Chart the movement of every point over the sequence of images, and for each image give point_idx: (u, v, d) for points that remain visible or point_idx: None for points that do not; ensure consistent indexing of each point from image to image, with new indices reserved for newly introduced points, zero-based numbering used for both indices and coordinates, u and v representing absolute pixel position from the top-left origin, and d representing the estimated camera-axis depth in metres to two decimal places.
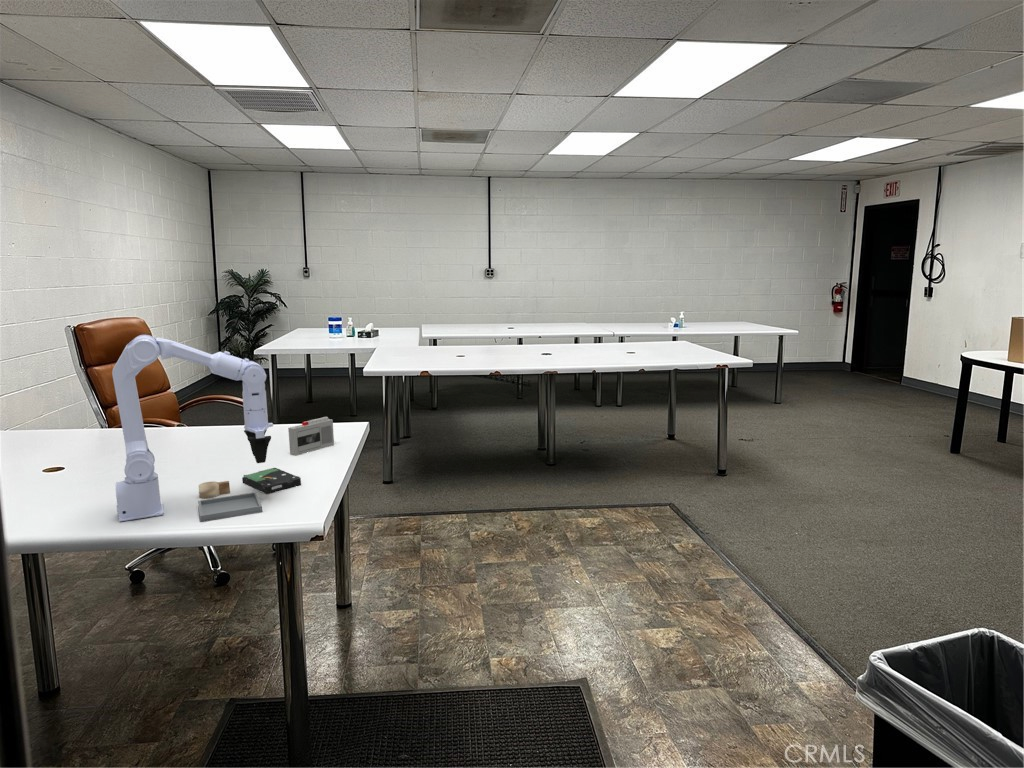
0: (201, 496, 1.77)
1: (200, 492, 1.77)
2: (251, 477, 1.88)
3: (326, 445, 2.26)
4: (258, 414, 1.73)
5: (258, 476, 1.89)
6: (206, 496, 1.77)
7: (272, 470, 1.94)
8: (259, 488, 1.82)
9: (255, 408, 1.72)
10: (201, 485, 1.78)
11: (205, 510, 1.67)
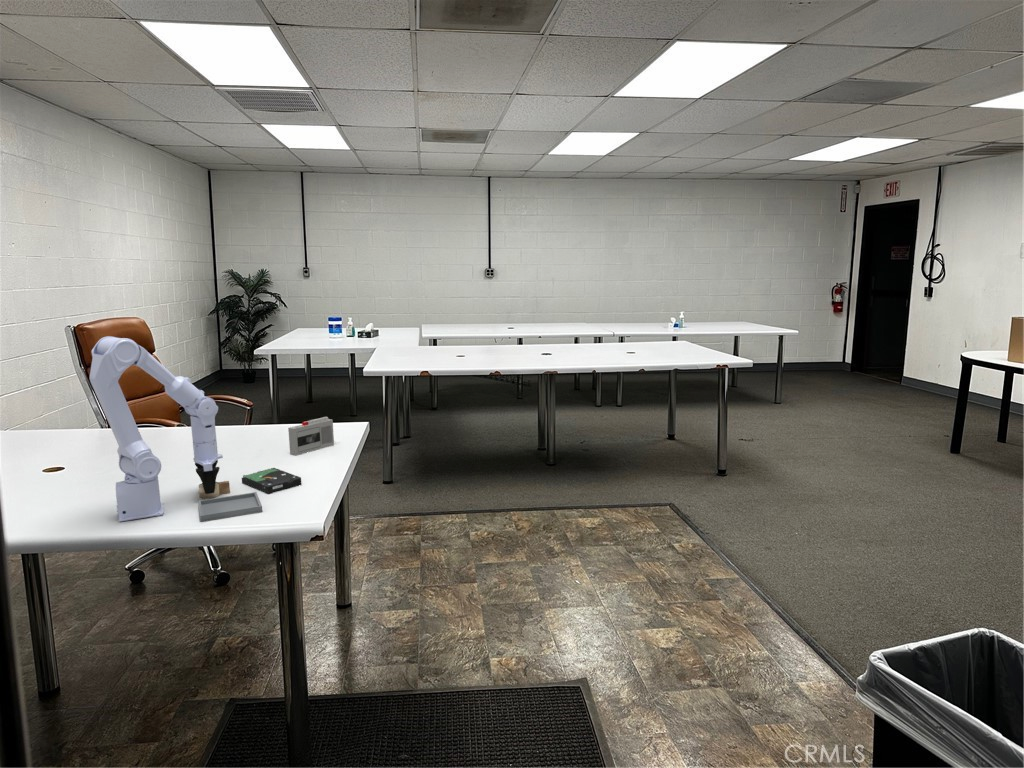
0: (201, 496, 1.77)
1: (200, 492, 1.77)
2: (251, 477, 1.87)
3: (326, 445, 2.26)
4: (207, 446, 1.75)
5: (258, 476, 1.88)
6: (206, 496, 1.77)
7: (271, 470, 1.94)
8: (260, 488, 1.82)
9: (208, 440, 1.75)
10: (201, 485, 1.78)
11: (205, 510, 1.67)
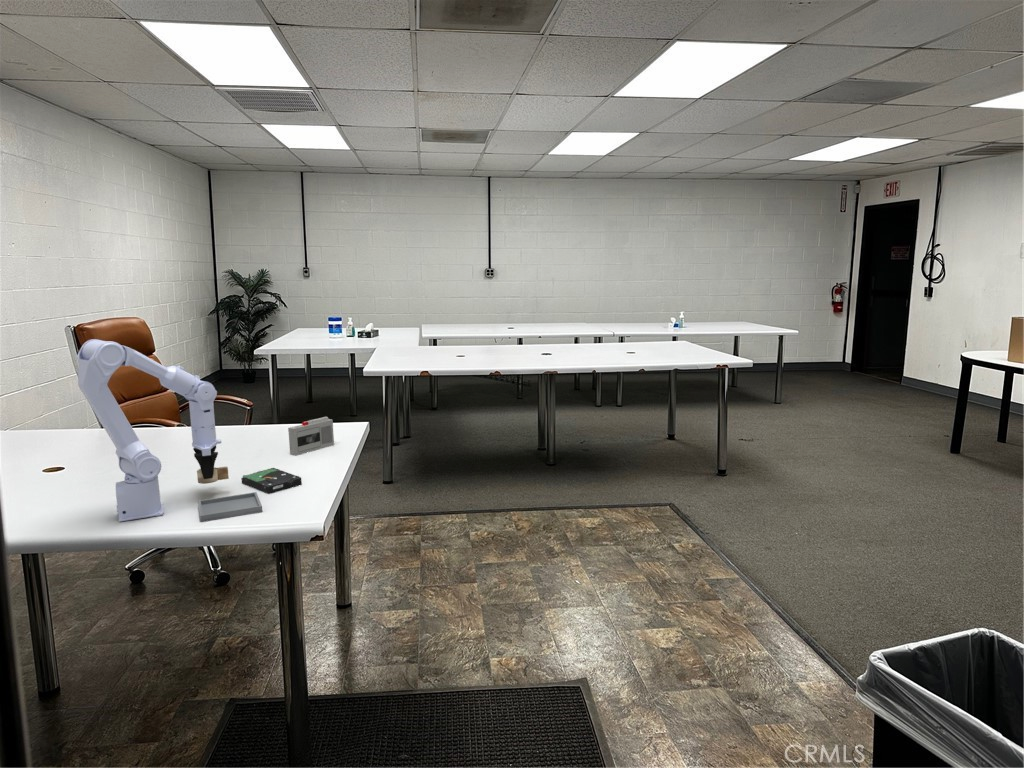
0: (199, 481, 1.77)
1: (198, 477, 1.77)
2: (251, 477, 1.87)
3: (326, 445, 2.26)
4: (205, 431, 1.74)
5: (258, 476, 1.88)
6: (204, 481, 1.76)
7: (271, 470, 1.94)
8: (260, 488, 1.82)
9: (207, 425, 1.74)
10: (199, 470, 1.77)
11: (205, 510, 1.67)
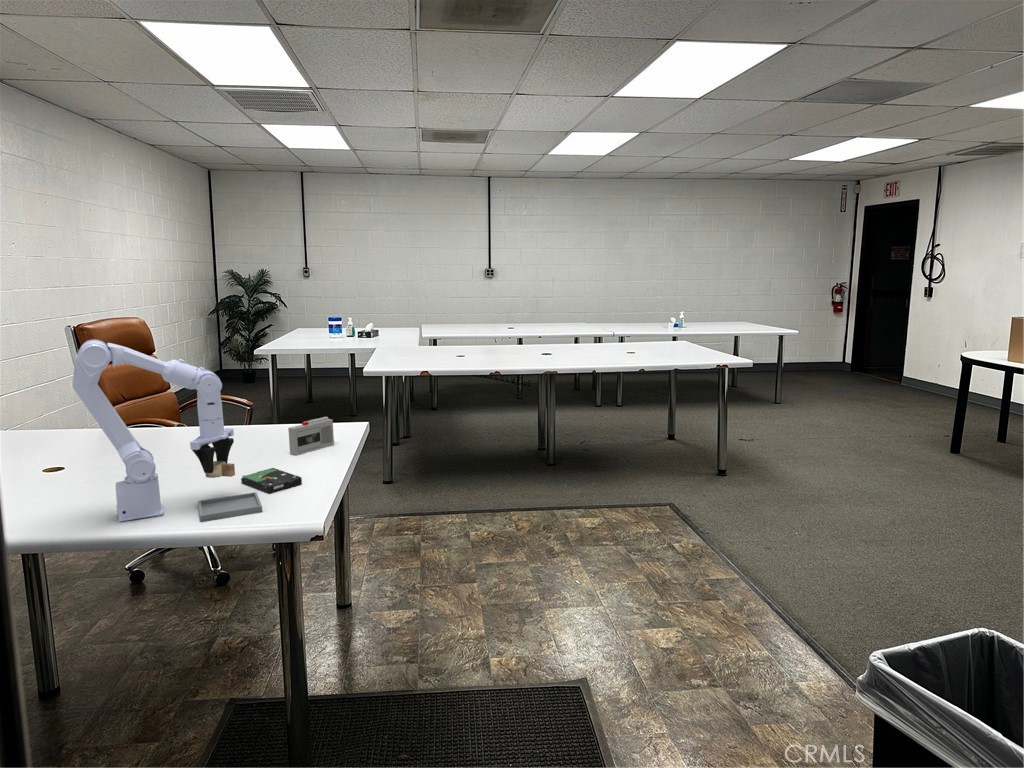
0: None
1: None
2: (251, 477, 1.87)
3: (326, 445, 2.26)
4: (205, 425, 1.69)
5: (258, 476, 1.88)
6: (207, 475, 1.72)
7: (270, 470, 1.94)
8: (260, 488, 1.82)
9: (211, 418, 1.69)
10: None
11: (205, 510, 1.67)
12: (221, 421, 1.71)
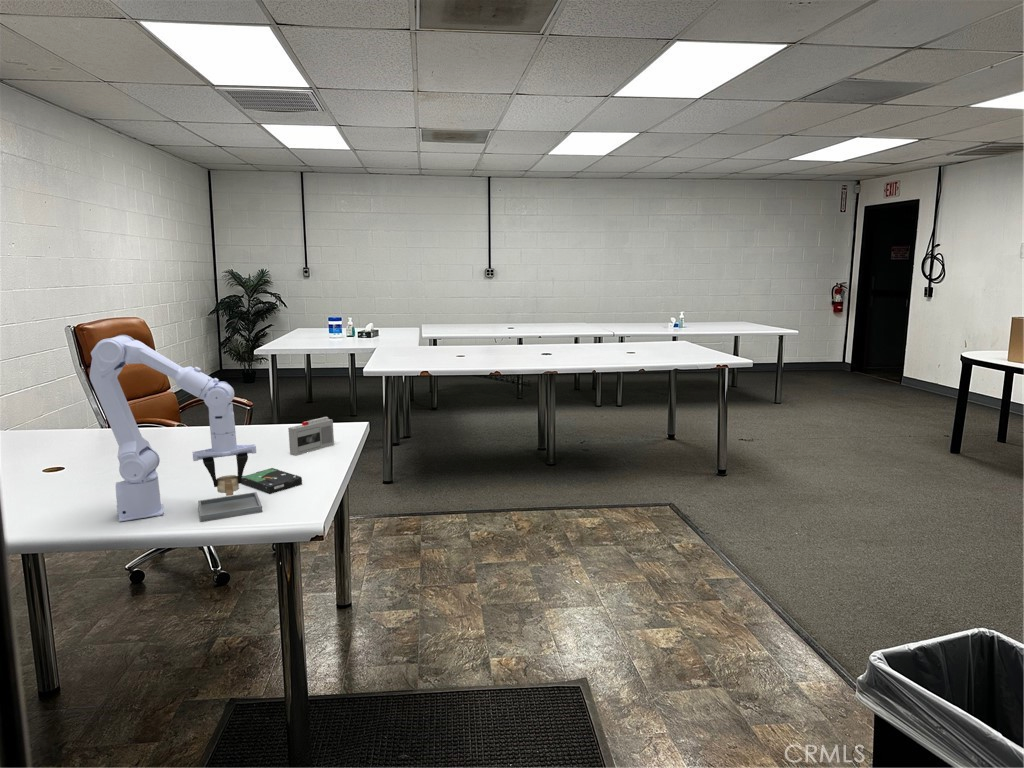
0: None
1: None
2: (250, 478, 1.87)
3: (326, 445, 2.26)
4: (211, 437, 1.65)
5: (258, 476, 1.88)
6: None
7: (270, 470, 1.94)
8: (261, 488, 1.82)
9: (218, 432, 1.64)
10: (226, 476, 1.70)
11: (205, 510, 1.67)
12: (225, 437, 1.64)
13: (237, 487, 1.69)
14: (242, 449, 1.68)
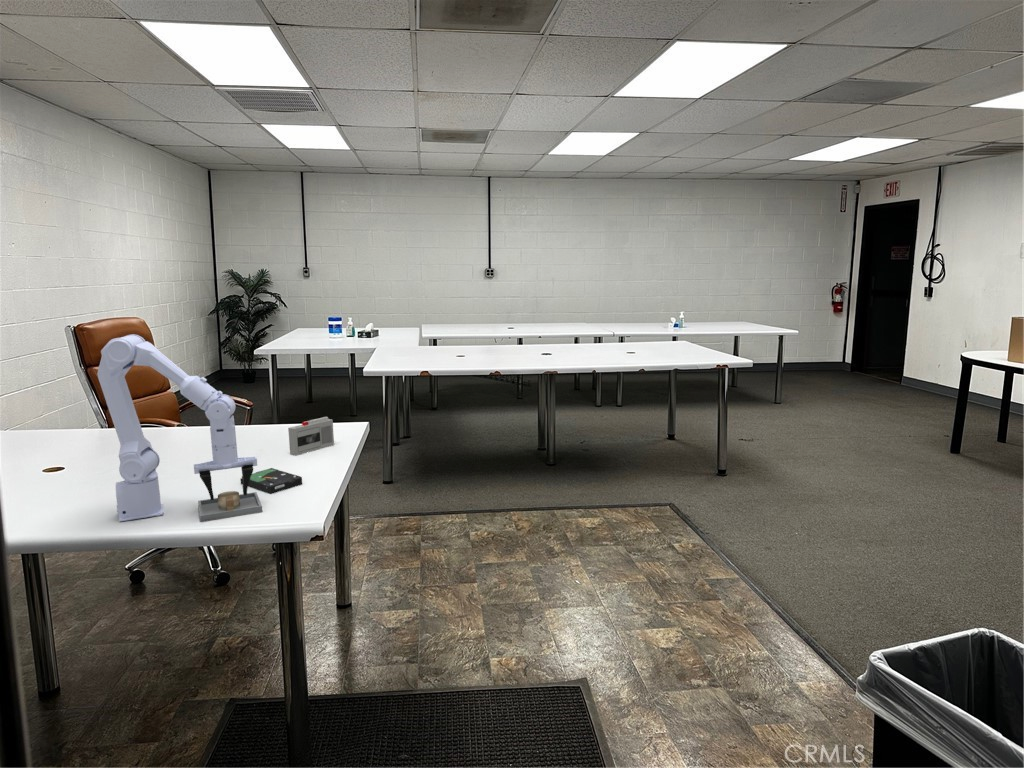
0: None
1: None
2: (250, 478, 1.87)
3: (326, 445, 2.26)
4: (212, 450, 1.66)
5: (258, 476, 1.88)
6: None
7: (269, 470, 1.94)
8: (261, 488, 1.82)
9: (220, 445, 1.64)
10: (228, 492, 1.71)
11: (205, 510, 1.67)
12: (226, 450, 1.65)
13: (238, 503, 1.70)
14: (243, 462, 1.68)
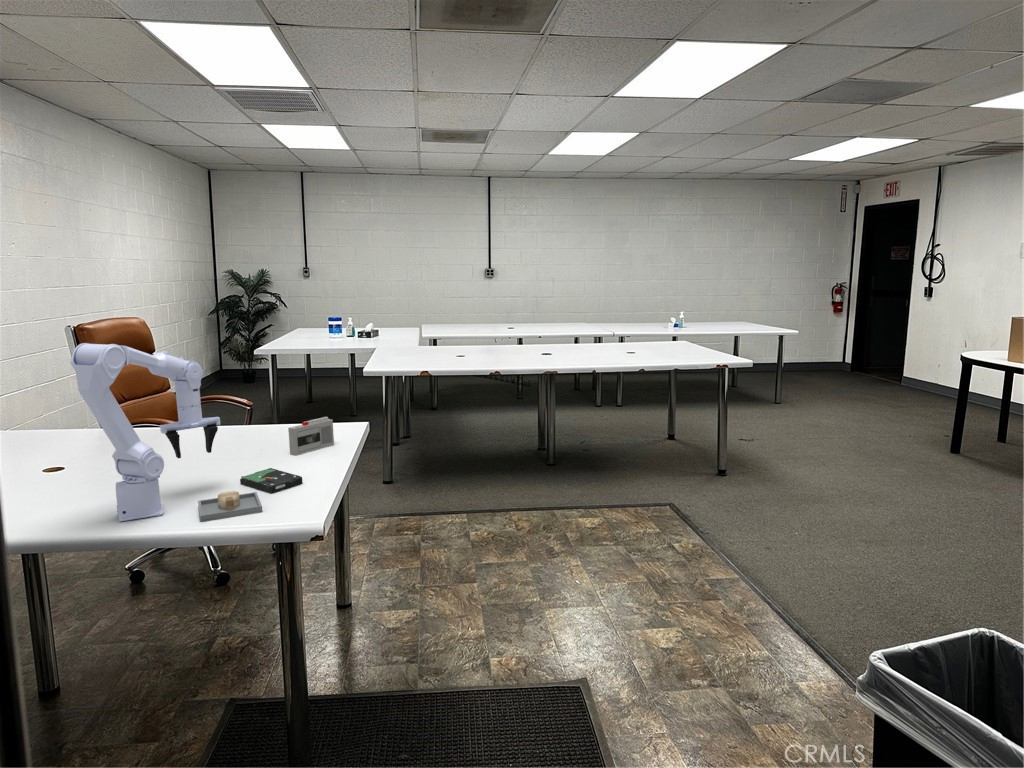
0: None
1: None
2: (250, 478, 1.87)
3: (326, 445, 2.26)
4: (178, 411, 1.76)
5: (257, 476, 1.88)
6: None
7: (269, 470, 1.93)
8: (261, 488, 1.82)
9: (196, 403, 1.77)
10: (228, 492, 1.71)
11: (205, 510, 1.67)
12: (193, 409, 1.76)
13: (238, 503, 1.70)
14: (208, 421, 1.80)
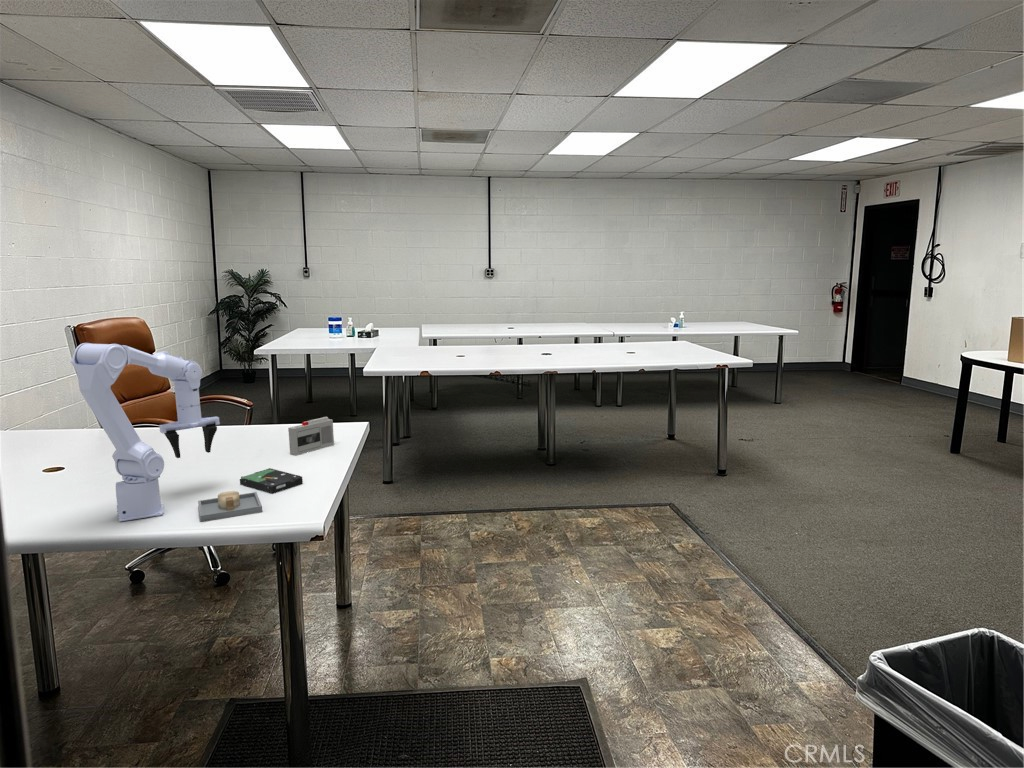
0: None
1: None
2: (250, 478, 1.87)
3: (326, 445, 2.26)
4: (177, 410, 1.76)
5: (257, 477, 1.88)
6: None
7: (268, 471, 1.93)
8: (262, 488, 1.82)
9: (195, 403, 1.77)
10: (228, 492, 1.71)
11: (205, 510, 1.67)
12: (192, 409, 1.77)
13: (238, 503, 1.70)
14: (207, 420, 1.80)
